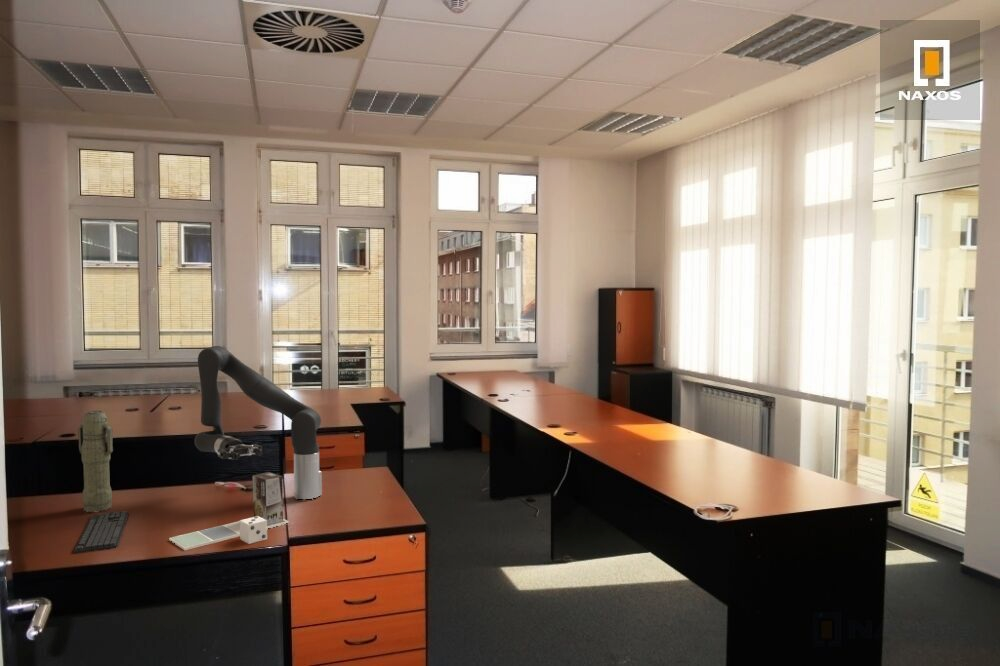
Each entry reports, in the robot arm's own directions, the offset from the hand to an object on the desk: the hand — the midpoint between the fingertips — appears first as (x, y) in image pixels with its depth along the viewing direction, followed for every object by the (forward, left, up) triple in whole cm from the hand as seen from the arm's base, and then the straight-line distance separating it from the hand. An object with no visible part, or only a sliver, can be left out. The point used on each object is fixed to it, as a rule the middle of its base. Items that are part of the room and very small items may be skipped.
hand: (249, 454), depth 240 cm
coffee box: (0, +13, -21) cm, 25 cm away
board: (+13, +13, -21) cm, 28 cm away
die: (+11, +25, -21) cm, 34 cm away
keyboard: (+42, -16, -22) cm, 50 cm away
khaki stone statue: (+36, -44, -21) cm, 61 cm away
